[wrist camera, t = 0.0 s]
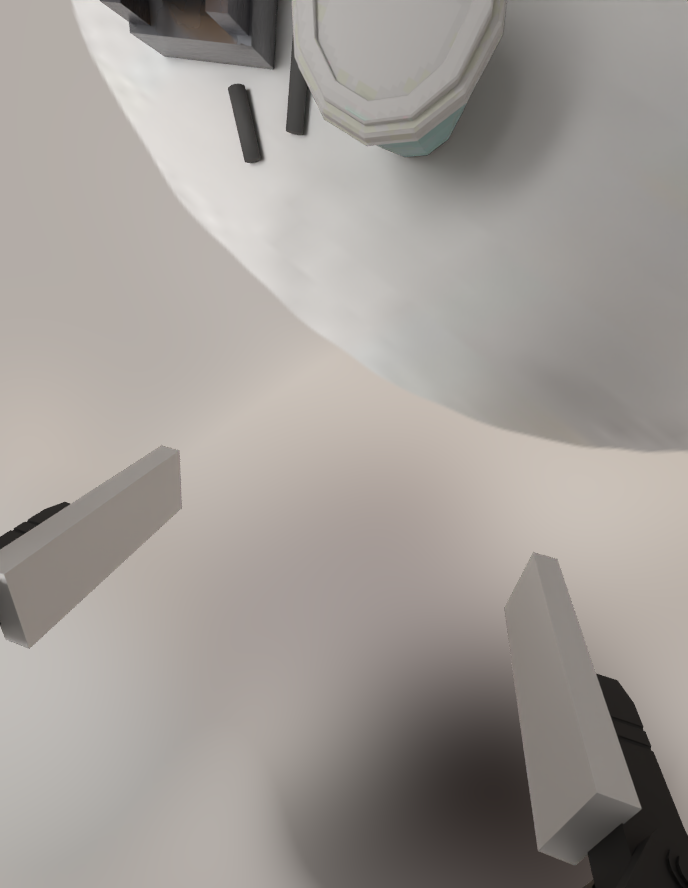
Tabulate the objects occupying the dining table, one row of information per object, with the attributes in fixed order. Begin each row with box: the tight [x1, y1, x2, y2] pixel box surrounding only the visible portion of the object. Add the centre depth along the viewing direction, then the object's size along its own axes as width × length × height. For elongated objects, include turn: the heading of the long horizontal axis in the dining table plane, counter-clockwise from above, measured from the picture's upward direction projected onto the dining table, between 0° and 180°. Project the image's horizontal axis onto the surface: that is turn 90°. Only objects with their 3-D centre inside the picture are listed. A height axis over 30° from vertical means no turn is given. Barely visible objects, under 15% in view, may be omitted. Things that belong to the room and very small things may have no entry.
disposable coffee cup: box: [292, 0, 507, 157], centre depth 24 cm, size 11×11×15 cm
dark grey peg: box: [228, 84, 261, 163], centre depth 33 cm, size 5×1×1 cm, turn 11°
